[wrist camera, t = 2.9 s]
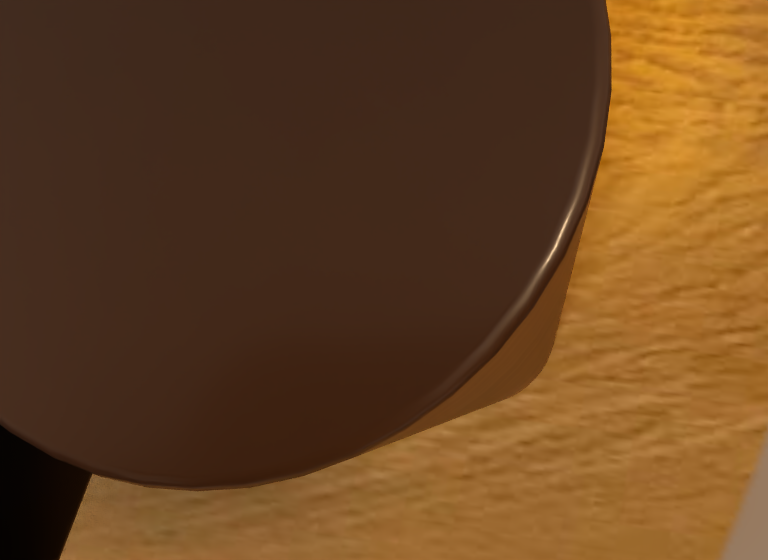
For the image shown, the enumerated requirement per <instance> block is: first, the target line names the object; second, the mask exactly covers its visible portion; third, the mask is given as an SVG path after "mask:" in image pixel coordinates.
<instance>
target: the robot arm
mask: <svg viewBox="0 0 768 560" xmlns="http://www.w3.org/2000/svg"><path fill="white" fill-rule="evenodd" d="M91 476H92V473H90V472H88V471H85V470H83V469H80V468H78V467H75V466H73V465H70V464H68V463H65V462H63V461H60V460H58V459H55V458H53V457H52V456H50V455H48V454H47V453H45V452H43V451H41V450H40V449H38V448H36V447H35V446H33V445H31V444H29V443H28V442H26V441H24V440H23V439H21V438H19V437H18V436H16V435H14V434H12V433H11V432H9V431H8V430H7V429H5V428H4V427H3V426H2V425H0V560H59V559H60V556H61V554H62V551H63V548H64V546H65V543H66V541H67V538H68V535H69V533H70V530H71V528H72V525H73V522H74V520H75V517H76V515H77V512H78V509H79V507H80V504H81V502H82V499H83V496H84V494H85V491H86V489H87V486H88V483H89V481H90V478H91Z"/></svg>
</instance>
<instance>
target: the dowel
mask: <svg viewBox="0 0 768 560" xmlns="http://www.w3.org/2000/svg"><path fill="white" fill-rule="evenodd" d="M610 97H611V32H610V26H609V19H608V13H607V6H606V0H0V425H2V426H3V427H4V428H5V429H7V430H8V431H9V432H11V433H12V434H14V435H16V436H18V437H19V438H21V439H23V440H24V441H26V442H28V443H29V444H31V445H33V446H35V447H36V448H38V449H40V450H41V451H43V452H45V453H47V454H48V455H50V456H52V457H53V458H55V459H58V460H60V461H63V462H65V463H68V464H70V465H73V466H75V467H78V468H80V469H83V470H85V471H88V472H90V473H93V474H95V475H98V476H101V477H105V478H109V479H114V480H118V481H122V482H127V483H131V484H135V485H139V486H144V487H150V488H163V489H175V490H188V491H208V490H223V489H237V488H250V487H255V486H260V485H264V484H269V483H274V482H278V481H283V480H287V479H292V478H297V477H301V476H305V475H307V474H310V473H313V472H315V471H318V470H321V469H324V468H326V467H329V466H332V465H334V464H337V463H340V462H342V461H345V460H348V459H351V458H353V457H356V456H359V455H361V454H364V453H366V452H369V451H372V450H374V449H377V448H379V447H382V446H385V445H387V444H390V443H392V442H395V441H398V440H400V439H403V438H405V437H408V436H411V435H413V434H416V433H418V432H421V431H424V430H426V429H429V428H431V427H434V426H437V425H439V424H442V423H444V422H447V421H449V420H452V419H455V418H457V417H460V416H462V415H465V414H468V413H470V412H473V411H475V410H478V409H481V408H483V407H486V406H488V405H491V404H494V403H496V402H499V401H501V400H504V399H507V398H509V397H511V396H513V395H515V394H517V393H518V392H520V391H521V390H523V389H524V388H525V387H527V386H528V385H529V384H530V383H531V382H532V381H533V380H534V379H535V378H536V377H537V376H538V374H539V373H540V372H541V371H542V369H543V367H544V366H545V364H546V362H547V360H548V358H549V356H550V353H551V350H552V347H553V343H554V339H555V335H556V331H557V328H558V324H559V320H560V316H561V312H562V308H563V304H564V300H565V296H566V292H567V289H568V285H569V281H570V277H571V273H572V269H573V265H574V261H575V257H576V253H577V249H578V246H579V242H580V238H581V234H582V230H583V226H584V222H585V218H586V214H587V210H588V206H589V203H590V199H591V195H592V191H593V187H594V183H595V179H596V175H597V171H598V167H599V164H600V160H601V156H602V152H603V148H604V142H605V134H606V127H607V119H608V112H609V105H610Z"/></svg>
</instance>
